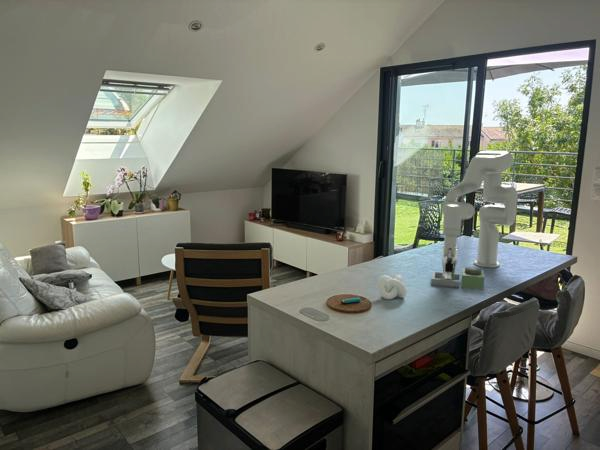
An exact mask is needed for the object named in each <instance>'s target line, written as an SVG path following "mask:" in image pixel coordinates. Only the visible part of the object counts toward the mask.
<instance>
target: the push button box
mask: <svg viewBox="0 0 600 450" xmlns="http://www.w3.org/2000/svg"><path fill="white" fill-rule="evenodd" d="M442 273H443V271H434V270H433V271H432V277H431V286H436V287H437V286H439V287H446V288H455V287H456V288H457V289H460V283H461V289H464V290H465V289H467V290H468V289H469V290H476V291H477V290H478V291H484V285H485V275H484V273H485V272H484V269H482V268H480V267H475V266H467V267H462V270H461V274H460V273H456V272H455V280H446V279H442ZM460 275H461V277H460ZM460 278H461V281H460Z"/></svg>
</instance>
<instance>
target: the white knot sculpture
mask: <svg viewBox="0 0 600 450" xmlns="http://www.w3.org/2000/svg"><path fill="white" fill-rule="evenodd" d="M377 290H378V292H379V294H380V296H381V297H382V298H384V300H393V299H394V298H396V296H397V297H398V298H400V299H401V298H402V299H403V298H405V297H406V296H407V293H408V292H407V288H406V286H405V284H404V283H403V277H402V275H400V274H397V275H394V277H393V278H392V277H391V276H389V275H386V274H384V275H381V276H380V277H379V279H378V281H377Z"/></svg>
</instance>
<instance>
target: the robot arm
mask: <svg viewBox="0 0 600 450" xmlns="http://www.w3.org/2000/svg"><path fill="white" fill-rule="evenodd" d="M513 163H514V156H513V155H512V153H510V152H509V151H497V150H496V151H493V150H486V151H485V150H484V151H483V150H482V151H478V152H477V153H476V154H475V156H473V157H472V158H471V160H470V162H469V165H468V166H467V169H466V171H465V174H464V176H463V178H462V181H461V182H459V183H458V184H456V185H455V186H453V187H452V188H451V189H450V190H449V191H448V192H447V194H446V196H445V197H444V200H443V203H442V206H441V212H442V215H443V224H442V236H444V239H443V241H444V243H443V246H444V254H443V256H444V257H445V256H447V259H446V266H445V271H446V272H453V258H454V257H455V251H456V247H457V243H458V237H460V235H461V227H462V225H461V224H462V220H469V219H471V218H473V216H474V214H475V207H474V205H473V204H471V203H469V202H461V201H456V200H457V199H458V198H460V197H461V196H463V195H466V194H467V195H468V194H469V193H470V194H471V193H473V192H476V191H478V190H480V188H481V186H483V187H482V189H483V190H482V198H483V200H484V201H485V202H486V203H490V204H484V205H482V206H481V207H480V208H479V210H478V218H479V219H478V220H479V233H478V246H477V256H476V257H477V259H475V260H474V261H473V264H474V265H475V266H478V267H481V268H490V269H491V268H493V269H494V268H498V267H500V264H501V263H500V262H499V261H498V249H499V239H500V237H499V236H500V231H499V229H498V227H497V226H507V227H510V226H512V225H514V224H515V220H516V217H517V203H518V191H517V189H516V187H515V186H513V185H510V184H509V185H507V184H503V183H502V181H503V174H502V173H504V172H505V171H508V170H509V169H510V168H511V167H512V166H513ZM482 184H483V185H482ZM491 203H492V204H491ZM494 204H495V205H494ZM496 204H500V205H496ZM502 205H503V206H502ZM448 253H449V255H448ZM451 254H452V257H451ZM451 258H452V259H451Z"/></svg>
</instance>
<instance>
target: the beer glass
mask: <svg viewBox="0 0 600 450" xmlns="http://www.w3.org/2000/svg"><path fill="white" fill-rule="evenodd" d="M458 248H459V247H457V246H456V251H455V257H454V258H453V272H446V271H445V266H446V259H447V256H445V257H444V256H443V254H444V245H443V246H442V251H441V266H442V272H443V273H442V279H446V280H455V273H456V269H457V268H456V267H457V264H458V260H459V259H458V257H459V255H458V254H459V250H458ZM448 255H449V253H448ZM451 257H452V254H451ZM451 259H452V258H451Z"/></svg>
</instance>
